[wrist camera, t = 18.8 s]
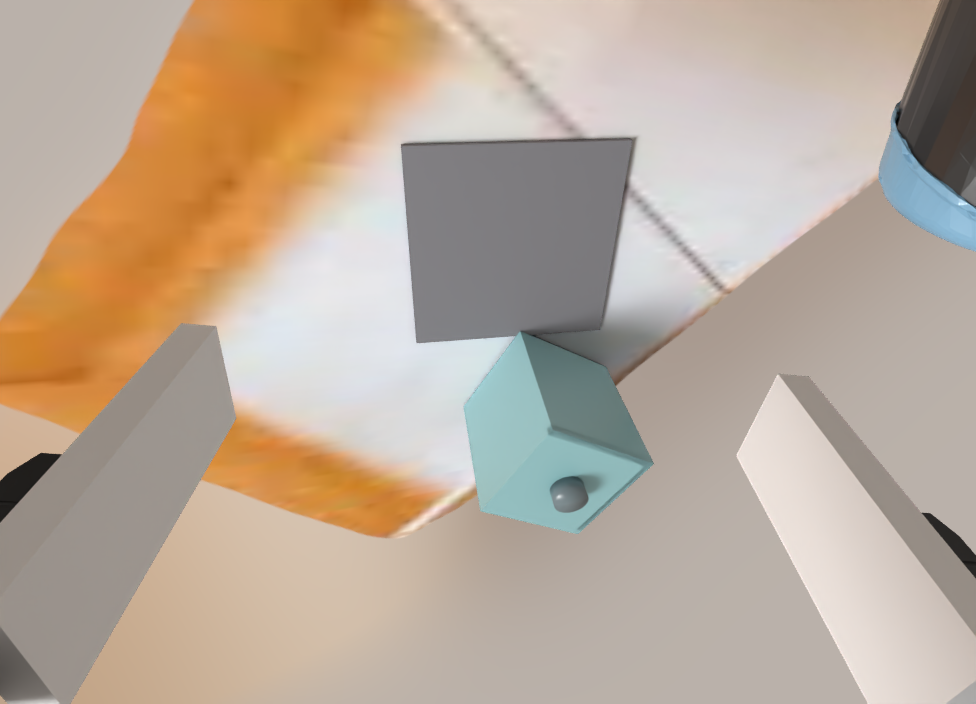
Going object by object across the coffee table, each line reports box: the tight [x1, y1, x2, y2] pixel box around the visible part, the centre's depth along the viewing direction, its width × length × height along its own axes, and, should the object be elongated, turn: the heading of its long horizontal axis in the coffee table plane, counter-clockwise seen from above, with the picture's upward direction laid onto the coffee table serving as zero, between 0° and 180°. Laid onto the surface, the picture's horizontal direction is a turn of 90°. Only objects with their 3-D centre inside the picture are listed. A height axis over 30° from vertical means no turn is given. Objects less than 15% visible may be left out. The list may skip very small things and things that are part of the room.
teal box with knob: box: [464, 331, 654, 534], centre depth 51 cm, size 11×11×14 cm
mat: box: [401, 139, 632, 343], centre depth 46 cm, size 18×18×1 cm
